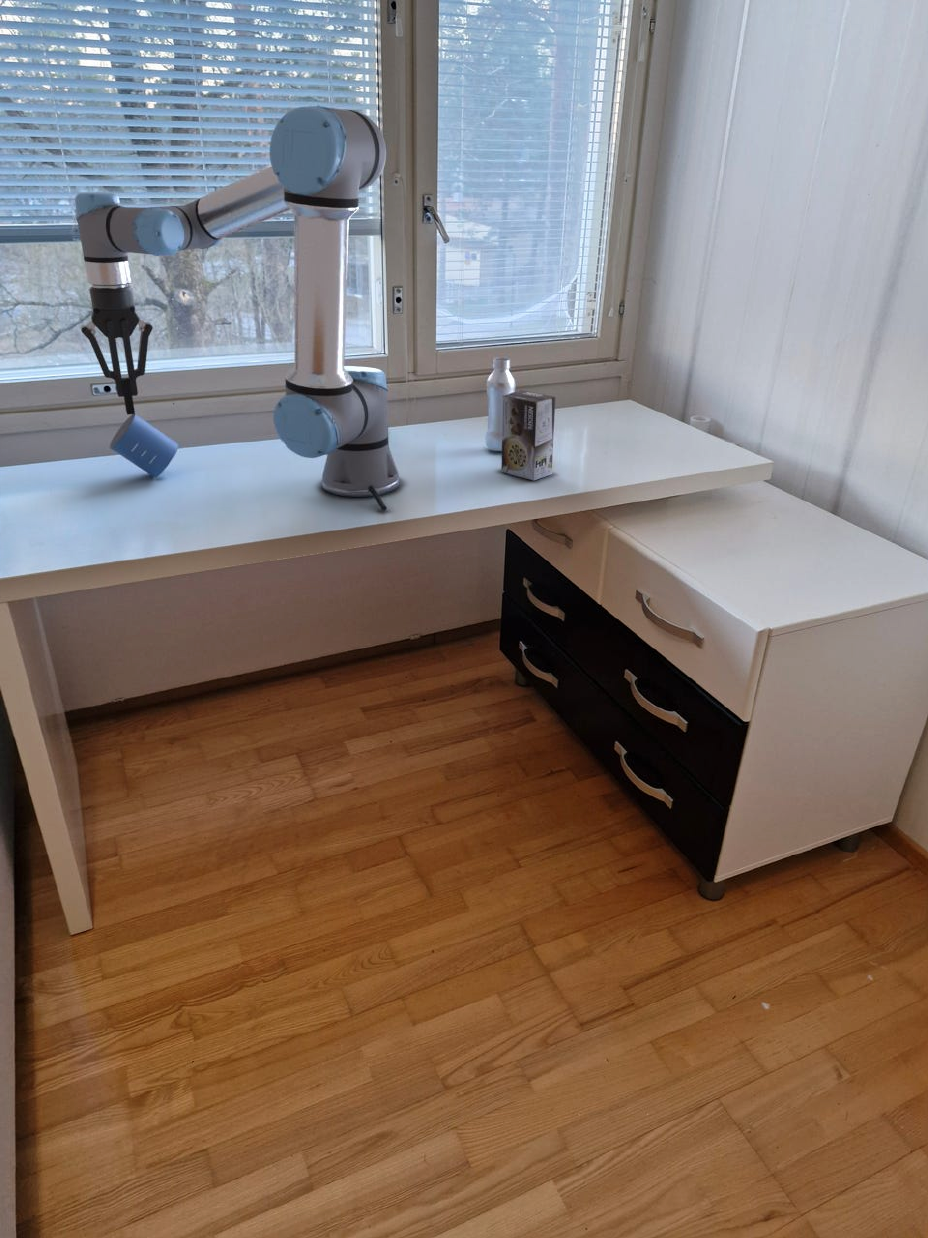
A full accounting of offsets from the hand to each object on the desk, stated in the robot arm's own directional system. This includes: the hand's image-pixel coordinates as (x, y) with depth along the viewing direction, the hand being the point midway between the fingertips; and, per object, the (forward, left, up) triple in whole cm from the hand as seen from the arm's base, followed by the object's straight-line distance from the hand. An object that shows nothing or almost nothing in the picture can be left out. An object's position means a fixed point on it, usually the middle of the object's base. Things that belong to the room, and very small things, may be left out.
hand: (130, 412), depth 171 cm
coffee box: (-28, -74, -13) cm, 80 cm away
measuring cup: (0, +1, -10) cm, 10 cm away
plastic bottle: (-11, -76, -13) cm, 78 cm away
